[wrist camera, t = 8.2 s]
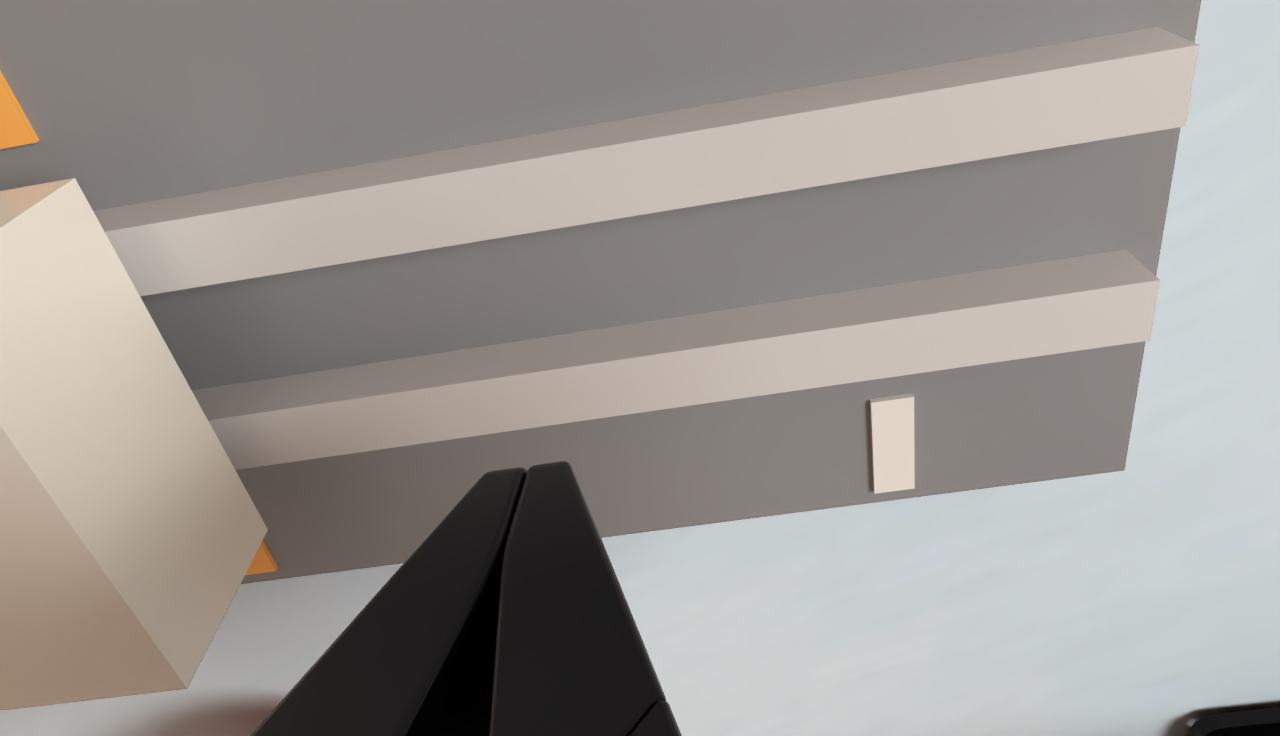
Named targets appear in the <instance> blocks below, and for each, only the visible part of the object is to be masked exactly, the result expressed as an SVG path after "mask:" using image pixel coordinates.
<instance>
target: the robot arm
mask: <svg viewBox="0 0 1280 736" xmlns="http://www.w3.org/2000/svg"><path fill="white" fill-rule="evenodd" d="M251 736H682V735H681V733H680V730H679V728H678V726H677V723H676V721H675V718H674V716H673V713H672V711H671V708H670V706H669V704H668V703H667V702H666V699H665V695H664V692H663V690H662V687H661V685H660V682H659V680H658V678H657V675H656V673H655V670H654V668H653V665H652V663H651V660H650V658H649V655H648V653H647V650H646V648H645V646H644V643H643V641H642V638H641V636H640V633H639V631H638V628H637V626H636V623H635V621H634V618H633V616H632V614H631V611H630V609H629V606H628V604H627V601H626V599H625V596H624V594H623V591H622V589H621V587H620V584H619V582H618V579H617V577H616V574H615V572H614V569H613V567H612V564H611V562H610V559H609V557H608V555H607V552H606V550H605V547H604V545H603V542H602V540H601V537H600V535H599V532H598V530H597V527H596V525H595V523H594V520H593V518H592V515H591V513H590V510H589V508H588V505H587V503H586V500H585V498H584V495H583V493H582V491H581V488H580V486H579V483H578V481H577V478H576V476H575V473H574V471H573V468H572V466H571V464H570V463H568V462H566V461H559V462H552V463H545V464H538V465H533V466H531V467H530V468H529V469H528V470H527V469H525V468H523V467H516V468H509V469H501V470H494V471H489V472H487V473H485V474H484V475H483V476H481V477H480V479H479V480H478V481H477V482H476V483H475V484H474V485H473V486H472V488H471V489H470V490H469V491H468V492H467V493H466V494H465V495H464V497H463V498H462V499H461V500H460V501H459V502H458V503H457V504H456V506H455V507H454V508H453V509H452V510H451V511H450V512H449V513H448V514H447V516H446V517H445V518H444V519H443V520H442V521H441V522H440V523H439V525H438V526H437V527H436V528H435V529H434V530H433V531H432V532H431V534H430V535H429V536H428V537H427V538H426V539H425V540H424V541H423V543H422V544H421V545H420V546H419V547H418V548H417V549H416V550H415V552H414V553H413V554H412V555H411V556H410V557H409V558H408V559H407V561H406V562H405V563H404V564H403V565H402V566H401V567H400V568H399V570H398V571H397V572H396V573H395V574H394V575H393V576H392V577H391V579H390V580H389V581H388V582H387V583H386V584H385V585H384V586H383V588H382V589H381V590H380V591H379V592H378V593H377V594H376V595H375V597H374V598H373V599H372V600H371V601H370V602H369V603H368V604H367V605H366V607H365V608H364V609H363V610H362V611H361V612H360V613H359V614H358V616H357V617H356V618H355V619H354V620H353V621H352V622H351V623H350V625H349V626H348V627H347V628H346V629H345V630H344V631H343V632H342V634H341V635H340V636H339V637H338V638H337V639H336V640H335V641H334V643H333V644H332V645H331V646H330V647H329V648H328V649H327V650H326V652H325V653H324V654H323V655H322V656H321V657H320V658H319V659H318V661H317V662H316V663H315V664H314V665H313V666H312V667H311V668H310V670H309V671H308V672H307V673H306V674H305V675H304V676H303V677H302V679H301V680H300V681H299V682H298V683H297V684H296V685H295V686H294V688H293V689H292V690H291V691H290V692H289V693H288V694H287V695H286V697H285V698H284V699H283V700H282V701H281V702H280V703H279V704H278V705H277V707H276V708H275V709H274V710H273V711H272V712H271V713H270V714H269V716H268V717H267V718H266V719H265V720H264V721H263V722H262V723H261V725H260V726H259V727H258V728H257V729H256V730H255V731H254V732H253V734H252V735H251ZM1189 736H1280V707H1276V708H1266V709H1257V710H1247V711H1237V712H1227V713H1218V714H1212V715H1207V716H1205V717H1203V718H1200V719H1199V720H1198V721H1196V722H1195V723H1194V724H1193V726H1192V728H1191V731H1190V735H1189Z"/></svg>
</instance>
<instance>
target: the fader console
mask: <svg viewBox="0 0 1280 736" xmlns="http://www.w3.org/2000/svg"><path fill="white" fill-rule="evenodd" d="M1200 4H1201V0H0V191H4V190H10V189H15V188H21V187H26V186H32V185H38V184H43V183H49V182H55V181H60V180H66V179H72V178H75V179H76V181H77V183H78V184H79V186H80V188H81V190H82V192H83V194H84V195H85V197H86V199H87V201H88V203H89V204H90V206H91V208H92V210H93V212H94V214H95V215H96V217H97V219H98V221H99V223H100V225H101V226H102V228H103V230H104V232H105V234H106V235H107V237H108V239H109V241H110V243H111V245H112V246H113V248H114V250H115V252H116V254H117V255H118V257H119V259H120V261H121V263H122V265H123V266H124V268H125V270H126V272H127V274H128V276H129V277H130V279H131V281H132V283H133V285H134V286H135V288H136V290H137V292H138V294H139V296H140V297H141V299H142V301H143V303H144V305H145V307H146V308H147V310H148V312H149V314H150V316H151V317H152V319H153V321H154V323H155V325H156V327H157V328H158V330H159V332H160V334H161V336H162V337H163V339H164V341H165V343H166V345H167V347H168V348H169V350H170V352H171V354H172V356H173V358H174V359H175V361H176V363H177V365H178V367H179V368H180V370H181V372H182V374H183V376H184V378H185V379H186V381H187V383H188V385H189V387H190V389H191V390H192V392H193V394H194V396H195V398H196V399H197V401H198V403H199V405H200V407H201V409H202V410H203V412H204V414H205V416H206V418H207V419H208V421H209V423H210V425H211V427H212V429H213V430H214V432H215V434H216V436H217V438H218V440H219V441H220V443H221V445H222V447H223V449H224V450H225V452H226V454H227V456H228V458H229V460H230V461H231V463H232V465H233V467H234V469H235V471H236V472H237V474H238V476H239V478H240V480H241V481H242V483H243V485H244V487H245V489H246V491H247V492H248V494H249V496H250V498H251V500H252V501H253V503H254V505H255V507H256V509H257V511H258V512H259V514H260V516H261V518H262V520H263V522H264V523H265V525H266V527H267V529H268V531H267V533H266V535H265V537H264V539H263V540H262V542H261V544H260V546H259V548H258V550H257V552H256V554H255V556H254V558H253V560H252V562H251V564H250V566H249V568H248V570H247V572H246V574H245V576H244V578H243V580H242V582H241V584H244V583H252V582H260V581H268V580H275V579H283V578H291V577H299V576H307V575H314V574H322V573H330V572H338V571H345V570H353V569H361V568H369V567H376V566H384V565H392V564H400V563H405V562H406V561H407V559H408V558H409V557H410V556H411V555H412V554H413V553H414V552H415V550H416V549H417V548H418V547H419V546H420V545H421V544H422V543H423V541H424V540H425V539H426V538H427V537H428V536H429V535H430V534H431V532H432V531H433V530H434V529H435V528H436V527H437V526H438V525H439V523H440V522H441V521H442V520H443V519H444V518H445V517H446V516H447V514H448V513H449V512H450V511H451V510H452V509H453V508H454V507H455V506H456V504H457V503H458V502H459V501H460V500H461V499H462V498H463V497H464V495H465V494H466V493H467V492H468V491H469V490H470V489H471V488H472V486H473V485H474V484H475V483H476V482H477V481H478V480H479V479H480V477H481V476H483V475H484V474H485V473H487V472H489V471H494V470H501V469H509V468H516V467H523V468H525V469H527V470H528V469H529V468H530V467H531V466H533V465H538V464H545V463H552V462H559V461H566V462H568V463H570V464H571V466H572V468H573V471H574V473H575V476H576V478H577V481H578V483H579V486H580V488H581V491H582V493H583V495H584V498H585V500H586V503H587V505H588V508H589V510H590V513H591V515H592V518H593V520H594V523H595V525H596V527H597V530H598V532H599V535H600V537H601V538H602V537H610V536H617V535H625V534H633V533H641V532H649V531H656V530H664V529H672V528H680V527H687V526H695V525H703V524H711V523H719V522H726V521H734V520H742V519H750V518H757V517H765V516H773V515H781V514H788V513H796V512H804V511H812V510H820V509H827V508H835V507H843V506H851V505H858V504H866V503H874V502H882V501H890V500H897V499H905V498H913V497H921V496H928V495H936V494H944V493H952V492H959V491H967V490H975V489H983V488H991V487H998V486H1006V485H1014V484H1022V483H1029V482H1037V481H1045V480H1053V479H1061V478H1068V477H1076V476H1084V475H1092V474H1099V473H1107V472H1115V471H1123V470H1124V469H1125V463H1126V456H1127V450H1128V444H1129V438H1130V432H1131V426H1132V420H1133V414H1134V408H1135V401H1136V395H1137V389H1138V383H1139V377H1140V371H1141V365H1142V359H1143V353H1144V346H1145V341H1150V336H1151V330H1152V324H1153V318H1154V312H1155V306H1156V300H1157V294H1158V288H1159V282H1160V280H1159V279H1158V278H1157V277H1156V273H1157V267H1158V261H1159V255H1160V249H1161V243H1162V236H1163V230H1164V224H1165V218H1166V212H1167V206H1168V200H1169V194H1170V188H1171V181H1172V175H1173V169H1174V163H1175V157H1176V151H1177V145H1178V139H1179V133H1180V127H1184V126H1186V120H1187V114H1188V108H1189V102H1190V96H1191V90H1192V84H1193V78H1194V72H1195V66H1196V60H1197V54H1198V48H1199V45H1198V44H1196V43H1194V41H1195V35H1196V29H1197V23H1198V16H1199V10H1200Z"/></svg>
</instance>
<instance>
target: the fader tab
mask: <svg viewBox="0 0 1280 736" xmlns="http://www.w3.org/2000/svg"><path fill="white" fill-rule="evenodd" d="M267 531H268V529H267V527H266V525H265V523H264V522H263V520H262V518H261V516H260V514H259V512H258V511H257V509H256V507H255V505H254V503H253V501H252V500H251V498H250V496H249V494H248V492H247V491H246V489H245V487H244V485H243V483H242V481H241V480H240V478H239V476H238V474H237V472H236V471H235V469H234V467H233V465H232V463H231V461H230V460H229V458H228V456H227V454H226V452H225V450H224V449H223V447H222V445H221V443H220V441H219V440H218V438H217V436H216V434H215V432H214V430H213V429H212V427H211V425H210V423H209V421H208V419H207V418H206V416H205V414H204V412H203V410H202V409H201V407H200V405H199V403H198V401H197V399H196V398H195V396H194V394H193V392H192V390H191V389H190V387H189V385H188V383H187V381H186V379H185V378H184V376H183V374H182V372H181V370H180V368H179V367H178V365H177V363H176V361H175V359H174V358H173V356H172V354H171V352H170V350H169V348H168V347H167V345H166V343H165V341H164V339H163V337H162V336H161V334H160V332H159V330H158V328H157V327H156V325H155V323H154V321H153V319H152V317H151V316H150V314H149V312H148V310H147V308H146V307H145V305H144V303H143V301H142V299H141V297H140V296H139V294H138V292H137V290H136V288H135V286H134V285H133V283H132V281H131V279H130V277H129V276H128V274H127V272H126V270H125V268H124V266H123V265H122V263H121V261H120V259H119V257H118V255H117V254H116V252H115V250H114V248H113V246H112V245H111V243H110V241H109V239H108V237H107V235H106V234H105V232H104V230H103V228H102V226H101V225H100V223H99V221H98V219H97V217H96V215H95V214H94V212H93V210H92V208H91V206H90V204H89V203H88V201H87V199H86V197H85V195H84V194H83V192H82V190H81V188H80V186H79V184H78V183H77V181H76V179H75V178H72V179H66V180H60V181H55V182H49V183H43V184H38V185H32V186H26V187H21V188H15V189H10V190H4V191H0V710H9V709H17V708H26V707H34V706H43V705H51V704H60V703H68V702H77V701H85V700H94V699H102V698H111V697H119V696H128V695H136V694H145V693H153V692H162V691H170V690H179V689H187V688H188V686H189V684H190V682H191V680H192V678H193V676H194V674H195V672H196V670H197V668H198V666H199V664H200V662H201V660H202V658H203V656H204V654H205V653H206V651H207V649H208V647H209V645H210V643H211V641H212V639H213V637H214V635H215V633H216V631H217V629H218V627H219V625H220V623H221V621H222V619H223V617H224V615H225V613H226V611H227V609H228V607H229V605H230V603H231V601H232V599H233V597H234V596H235V594H236V592H237V590H238V588H239V586H240V584H241V582H242V580H243V578H244V576H245V574H246V572H247V570H248V568H249V566H250V564H251V562H252V560H253V558H254V556H255V554H256V552H257V550H258V548H259V546H260V544H261V542H262V540H263V539H264V537H265V535H266V533H267Z"/></svg>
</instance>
